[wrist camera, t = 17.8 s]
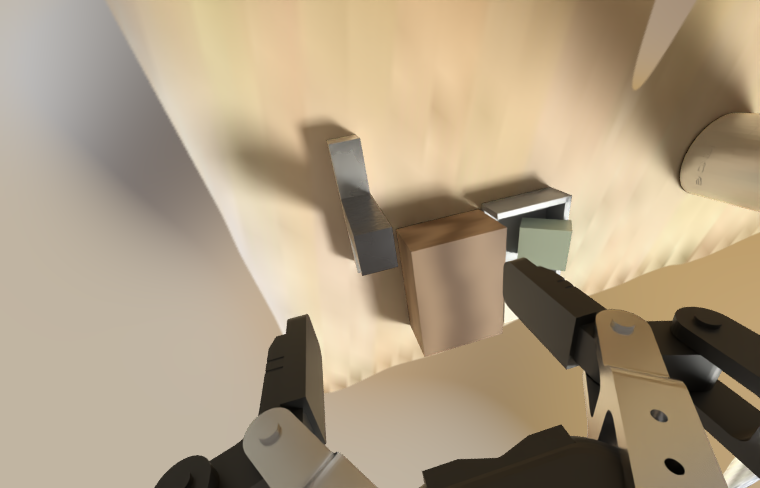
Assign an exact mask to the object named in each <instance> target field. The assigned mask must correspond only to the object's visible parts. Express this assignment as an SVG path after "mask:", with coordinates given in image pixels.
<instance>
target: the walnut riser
mask: <svg viewBox="0 0 760 488" xmlns="http://www.w3.org/2000/svg"><path fill="white" fill-rule="evenodd" d="M396 232H397V239H398V246H399V252H400V259H401V266H402V272H403V279H404V286H405V292H406V299H407V306H408V313H409V319H410V326H411V328H412V330H413V332H414V334H415V337H416V339H417V341H418V343H419V345H420V348H421V350H422V352H423V354H424V356H425V357H426V356H429V355H433V354H436V353H439V352H442V351H446V350H449V349H452V348H456V347H459V346H462V345H465V344H469V343H472V342H475V341H479V340H482V339H486V338H489V337H492V336H496V335H499V334H502V330H503V329H502V328H503V307H504V298H503V266H504V263H505V261H506V238H507V227H505V226H504V225H502V224H501V223H499V222H498V221H496V220H495V219H493V218H492V217H490V216H489V215H487V214H486V213H484V212H483V211H481V210H480V209H477V210H473V211H468V212H464V213H460V214H456V215H452V216H448V217H444V218H440V219H436V220H432V221H428V222H424V223H419V224H415V225H411V226H407V227H403V228H399V229H396Z"/></svg>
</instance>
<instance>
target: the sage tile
mask: <svg viewBox="0 0 760 488" xmlns="http://www.w3.org/2000/svg"><path fill="white" fill-rule="evenodd" d="M571 235H572V223H571V220H558V219H540V218H523V217H522V220H521V225H520V232H519V243H518V255H517V259H519V258H523V257H524V258H527V259H528V260H529V261H531V262H532V263H533V264H535V265H536V266H537V267H538V266H542V267H544V268H547V269H552V270H560V271H565V269H566V263H567V258H568V252H569V247H570V241H571Z"/></svg>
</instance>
